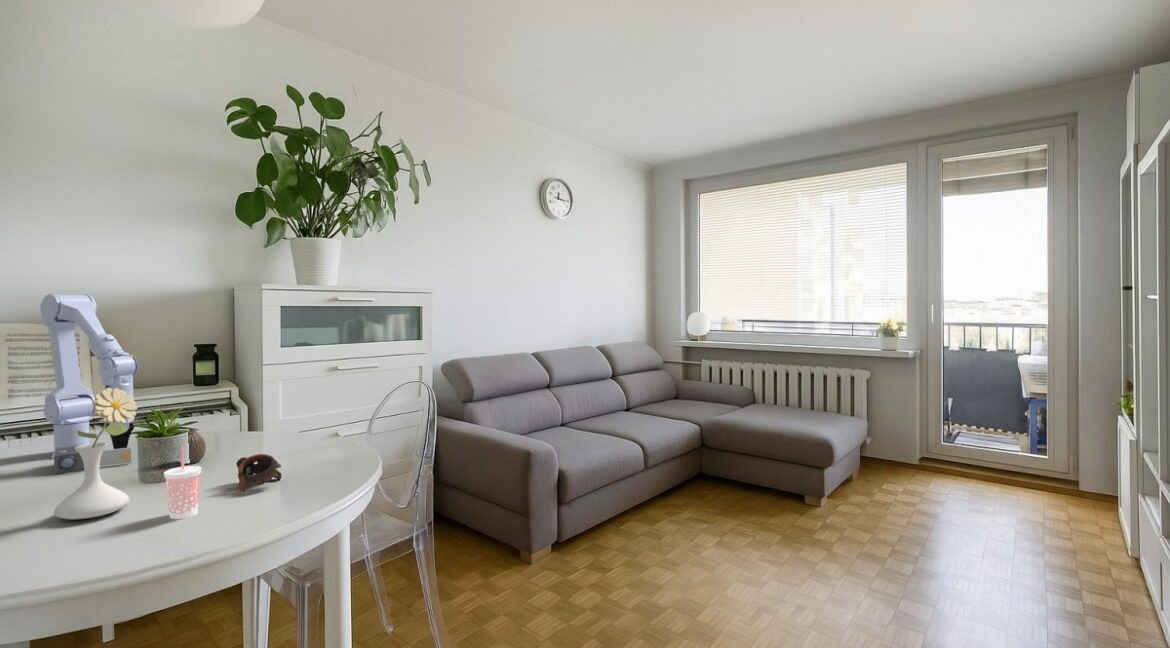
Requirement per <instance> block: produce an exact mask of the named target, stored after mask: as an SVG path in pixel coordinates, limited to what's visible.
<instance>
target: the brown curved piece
mask: <svg viewBox="0 0 1170 648" xmlns="http://www.w3.org/2000/svg"><path fill="white" fill-rule="evenodd" d="M235 464H236V467H237V473H238V474H237V478H238V480H239V481H238V486H237V487H238V490H239V491H241V492H243V493H244V492H245V491H246V489H248V488H249V489H250V488H252V487H257V486H259V485H264V483H267V482H269V481H270V480H271V479H272V478H275V479H276V480H278V479H279V480H278V481H281V480H282V473H281V471H279V470H278V469H279V468H282V465H281V464H280V463H279V462H278V461H277V460H276V459H275V458H274V457H273V456H272V455H269V454H267V453H258V454H253V455H251V456H249V457H240V458H238V460H237V462H236V463H235ZM280 479H281V480H280Z"/></svg>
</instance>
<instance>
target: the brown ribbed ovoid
mask: <svg viewBox="0 0 1170 648" xmlns="http://www.w3.org/2000/svg"><path fill="white" fill-rule="evenodd" d="M188 429H189V430H190V431H189V432H188V443H189V459H190V464H189V465H193V464H196V463H199V462H201V460H203V458H204V456H205V454H206V451H207V450H206V447H207V446H206V442H205V439H204V438H203V437H202V436H201V435H200V434H199V433H198V432H197V430H196V428H188Z"/></svg>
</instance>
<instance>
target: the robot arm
mask: <svg viewBox="0 0 1170 648" xmlns="http://www.w3.org/2000/svg"><path fill="white" fill-rule="evenodd" d="M39 306H40V313H41V320H42V325H43V326H45V327H47V328H48V334H49V335H48V336H49V343H50V348H51V349H50V351H51V355H52V363H53V371H54V377H55V384H56V385H55V386H56V388H54V389H53V390H52V391H51V392H49V393H48V394H47V395H46V396H45V397H44V408H43V415H44V418H45V419H46V421H48V422H49V423H50V424H51V425H53V440H54V441H53V445H54V446H53V447H54V448H53V449H54V450H53V452H52V455H51V459H54V454H55V451H56V448H57V447H65V446H74V445H82V444H90V443H91V442H90V439H91V438H86V437H81V436H79V435H78V432H77V431H78V430H79V431H81V432H85V433H90V421H91V420H93V417H94V416H96V414H97V413H95V406H94V403H96V402H95V401H94V398H95V396H94V391H93V390H91V389H90V388H89V387H86V386H85V385H83V384H82V378H81V377H82V376H81V372H80V364H79V357H78V356H79V355H78V351H77V350H78V349H77V348H78V347H77V342H76V335H75V329H76V328H77V327H78V328H80V330H81V331H82V332H83V333H84V335H86V337H87V338H88V339H89V342H88V345H87V346H88V348H89V350H90V351H91V352H92V354H93V355H94V357H95V358H96V360H97V361H98V362H99V365H98V368H97V369H98V372H99V373H98V374H99V375H100V377H101V384H102V385H103V386H104V390H106V389H107V388H110V389H112V390H114V389H115V388H118V389H119V390H123V391H124V392H126V395H130V396H132V399H133V400H134V376H136V374H137V373H138V370H139V362H138V360H137V358H136V356H135V355H133V354H129V352H126V351H124V349H123V348H122V346H121V345H120V344H119V342H118V340H117V339H116V338H115V337H114V335H113V334H110V333H109V334H107V333H106V331H105V329H104V328H103V325H102V324H101V322H100V320H99V319H98V316H97V315H96V313H97V306H98V305H97V302H96V300H95V298H94V297H93V296H92V295H90V294H54V293H48V294H46V295H45V296H44V297H43V299H42V300H41V303H40V305H39ZM135 416H136V415H135ZM135 416H133V418H132V419H128V418H127V420H128V421H127V422H126V423H117V422H115V424H120V425H122V426H124V427H126V428H127V429H128V430H127V431H126V432H124V433H122V434H120V435H116V436H113V435H110V434H109V436H110V439H111V443H112V447H113V449H120V448H128V445H129V440H130V437H131V435H132V432H133V431H134V429H135V425H134V423H133V421H134V420H135V419H136V417H135ZM99 423H100V424H103V423H105V421H104V420H103V418H101V419H99ZM106 424H109V425H111V424H114V423H112V422H109V421H107V423H106ZM106 427H107V426H106ZM106 427H105V428H106Z"/></svg>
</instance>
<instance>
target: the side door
mask: <svg viewBox="0 0 1170 648" xmlns="http://www.w3.org/2000/svg"><path fill="white" fill-rule="evenodd" d="M132 448H133V447H131V446H130V447H127V448H120V449H114V448H113V449H104V450H103V452H102V455H101V458H100V465H99V467H104V466H111V465H120V464H122V465H123V464H129V463H132V462H133V459H132V458H133V455H132V454H133V453H132V450H133V449H132Z"/></svg>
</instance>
